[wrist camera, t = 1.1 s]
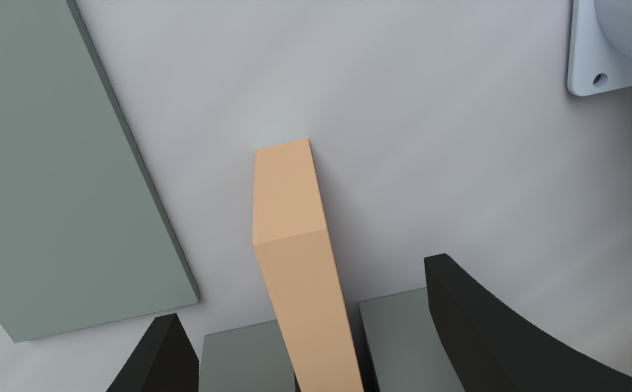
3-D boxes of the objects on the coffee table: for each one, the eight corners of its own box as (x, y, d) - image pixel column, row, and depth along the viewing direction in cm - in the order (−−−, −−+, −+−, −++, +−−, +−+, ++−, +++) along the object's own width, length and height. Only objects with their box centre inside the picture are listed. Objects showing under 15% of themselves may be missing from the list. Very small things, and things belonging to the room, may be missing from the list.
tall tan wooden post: (307, 136, 18) (326, 228, 13) (356, 353, 24) (382, 474, 19) (254, 148, 18) (252, 244, 13) (317, 361, 24) (332, 484, 19)
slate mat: (6, -156, 13) (-5, -158, 12) (200, 293, 21) (198, 303, 20) (-288, -87, 13) (-311, -86, 12) (20, 332, 21) (15, 343, 20)
